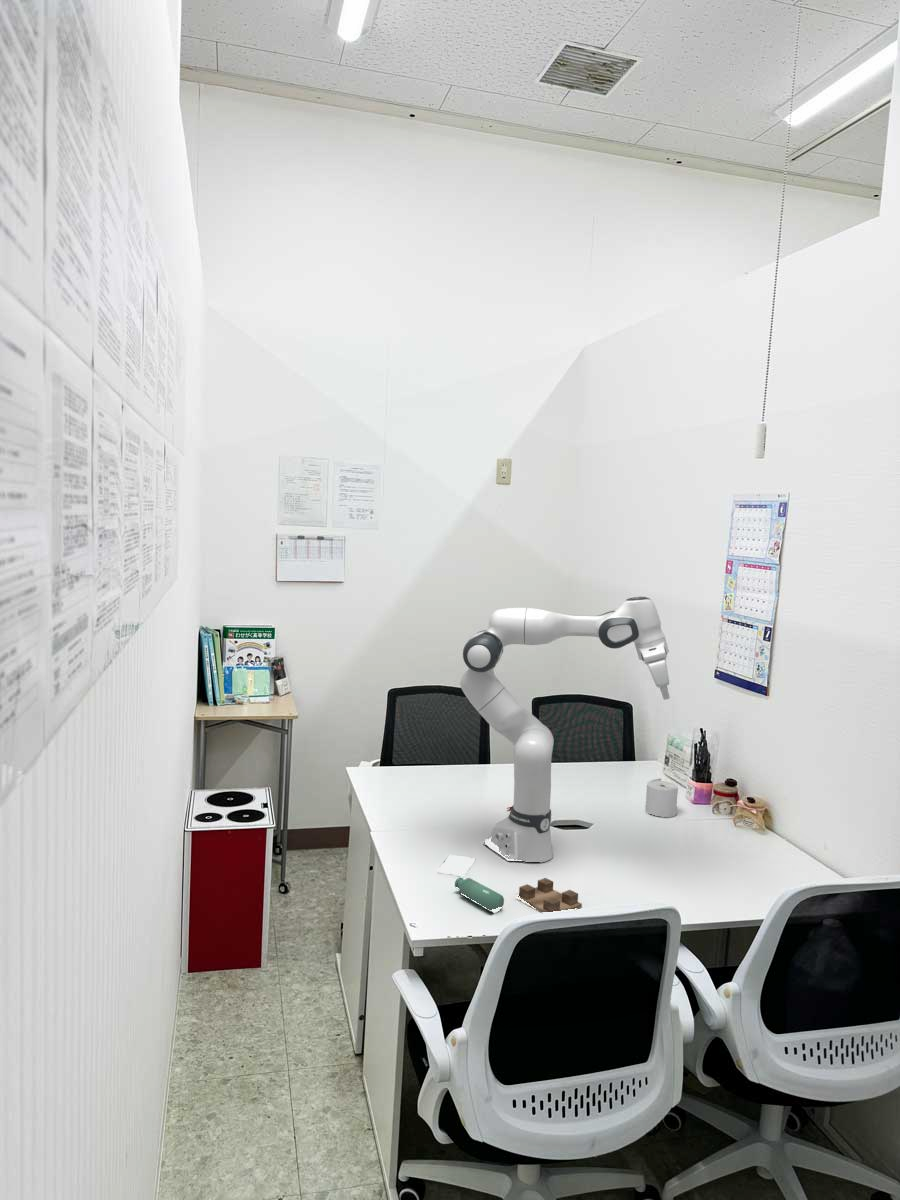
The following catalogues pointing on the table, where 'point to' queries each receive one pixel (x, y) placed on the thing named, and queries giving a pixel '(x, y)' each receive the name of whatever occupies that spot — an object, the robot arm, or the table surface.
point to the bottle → (480, 893)
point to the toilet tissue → (661, 798)
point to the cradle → (548, 897)
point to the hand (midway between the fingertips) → (665, 695)
